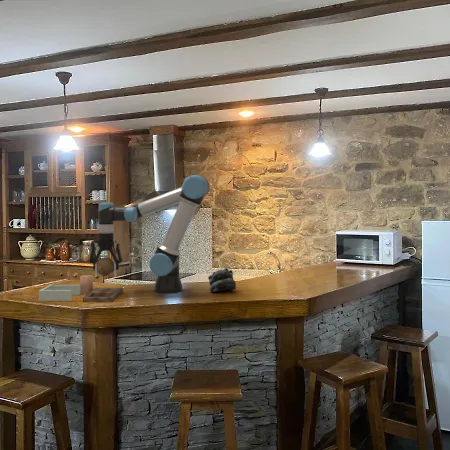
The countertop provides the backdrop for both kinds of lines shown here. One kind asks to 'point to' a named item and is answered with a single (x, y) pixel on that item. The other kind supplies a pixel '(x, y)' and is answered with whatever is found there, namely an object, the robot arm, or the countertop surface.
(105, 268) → the natural sponge
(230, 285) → the grey animal figurine
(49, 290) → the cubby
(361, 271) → the countertop surface
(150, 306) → the countertop surface
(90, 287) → the brown rounded block
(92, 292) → the brown wooden tray
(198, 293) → the countertop surface
